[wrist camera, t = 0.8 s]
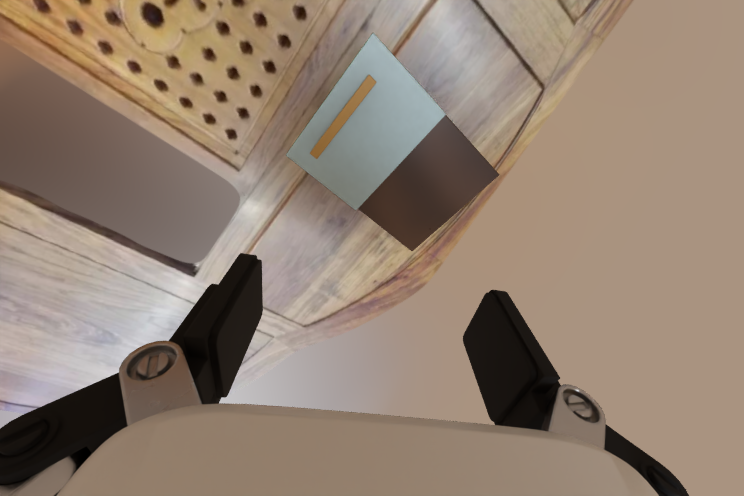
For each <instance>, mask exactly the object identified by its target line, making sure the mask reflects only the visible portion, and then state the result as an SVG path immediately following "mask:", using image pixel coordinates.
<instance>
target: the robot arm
mask: <svg viewBox="0 0 744 496" xmlns="http://www.w3.org/2000/svg"><path fill="white" fill-rule="evenodd" d="M262 311H263V303H262V261H261V260H258V259H257V256H256V255H249V254H243V253H241V254H239V256H238V257H237V259H236V260H235V261H234V263H233V264H232V266H231V267H230V269H229V270H228V272H227V273H226V275H225V276H224V277H223V279H222V280H221V282H220V283H219V285H217V284H211V285H210V286H209V287H208V288H207V289H206V291H205V292H204V293H203V295H202V296H201V297H200V299H199V300H198V302H197V303H196V304H195V306H194V307H193V308H192V310H191V311H190V313H189V314H188V315H187V317H186V318H185V319H184V321H183V322H182V323H181V325H180V326H179V328H178V329H177V330H176V332H175V333H174V334H173V336H172V337H171V339H170V340H169V341H156V342H152V343H149V344H146V345H144V346H142V347H139V348H138V349H136V350H135V351H133V352H132V353H130V354H129V355H128V356H127V357H126V358H125V360H124V361H123V362H122V364H121V366H120V368H119V373H117V374H115V375H112V376H110V377H108V378H105V379H103V380H101V381H99V382H96V383H94V384H92V385H90V386H87V387H85V388H83V389H81V390H78V391H76V392H74V393H71V394H69V395H67V396H65V397H62V398H60V399H58V400H56V401H53V402H51V403H49V404H46V405H44V406H42V407H40V408H37V409H35V410H33V411H31V412H28V413H26V414H24V415H22V416H20V417H18V418H16V419H14V420H12V421H11V422H9V423H8V424H6V425H5V426H4V427H2V428H1V429H0V496H689V495H688V493H687V491H686V489H685V488H684V487H683V485H682V484H681V483H680V481H679V480H678V479H677V478H676V477H675V476H674V475H673V474H672V473H671V472H670V471H669V470H668V469H666V468H665V467H664V466H663V465H661V464H660V463H659V462H658V461H656V460H655V459H653V458H652V457H651V456H649V455H648V454H646V453H645V452H643V451H642V450H641V449H639V448H638V447H636V446H635V445H634V444H632V443H631V442H629V441H628V440H626V439H625V438H624V437H623V436H621V435H620V434H618V433H617V432H616V431H614V430H613V429H611V428H610V427H609V426H607V425H606V420H605V415H604V413H603V411H602V409H601V407H600V406H599V405H598V403H597V402H596V401H595V400H594V399H593V398H592V397H591V396H590V395H589V394H587V393H586V392H585V391H583V390H581V389H579V388H578V387H576V386H572V385H562V386H561V385H560V384H559V382H558V380H559V379H560V377H559V375H558V374H557V372H556V371H555V369H554V367H553V366H552V364H551V362H550V361H549V359H548V358H547V356H546V354H545V353H544V351H543V349H542V348H541V346H540V345H539V343H538V341H537V340H536V339H535V337H534V335H533V333H532V332H531V330H530V329H529V327H528V325H527V324H526V322H525V320H524V319H523V317H522V316H521V314H520V312H519V311H518V309H517V308H516V306H515V304H514V303H513V301H512V300H511V298H510V296H509V295H508V293H507V292H505V291H498V290H491V291H490V292H489V293H486V294H485V295H484V297H483V299H482V301H481V303H480V305H479V307H478V309H477V310H476V313H475V314H474V316H473V318H472V320H471V322H470V324H469V326H468V327H467V329H466V331H465V333H464V336H463V342H464V346H465V348H466V351H467V354H468V357H469V360H470V363H471V366H472V369H473V371H474V374H475V377H476V380H477V383H478V386H479V389H480V392H481V394H482V397H483V400H484V403H485V406H486V409H487V412H488V415H489V417H490V419H491V420H492V421H493V422H494V423H495V425H488V424H477V423H466V422H457V421H446V420H435V419H424V418H413V417H401V416H391V415H379V414H367V413H356V412H344V411H332V410H320V409H308V408H295V407H282V406H267V405H252V404H219V401H220V399H221V397H227V395H228V393H229V391H230V389H231V386H232V384H233V382H234V379H235V377H236V375H237V372H238V370H239V368H240V365H241V363H242V361H243V358H244V356H245V354H246V351H247V349H248V347H249V344H250V342H251V340H252V337H253V335H254V333H255V330H256V328H257V326H258V323H259V321H260V319H261V316H262Z"/></svg>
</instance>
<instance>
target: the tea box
mask: <svg viewBox="0 0 744 496" xmlns="http://www.w3.org/2000/svg"><path fill="white" fill-rule="evenodd" d="M498 176H499V174H498V173H497V171H496V170H495V169H494V168H493V167H492V166H491V165H490V164H489V162H488V161H487V160H486V159H485V158H484V157H483V156H482V155H481V154H480V152H479V151H478V150H477V149H476V148H475V147H474V146H473V145H472V144H471V142H470V141H469V140H468V139H467V138H466V137H465V136H464V135H463V134H462V132H461V131H460V130H459V129H458V128H457V127H456V126H455V125H454V123H453V122H452V121H451V120H450V119H449V118H448V117H447V116H446V115H445V116H444V117H443V118H442V119H441V120H440V121H439V122H438V123H437V124H436V126H435V127H434V128H433V129H432V130H431V131H430V132H429V133H428V134H427V135H426V136H425V137H424V138H423V139H422V141H421V142H420V143H419V144H418V145H417V146H416V147H415V148H414V149H413V150H412V151H411V152H410V153H409V154H408V156H407V157H406V158H405V159H404V160H403V161H402V162H401V163H400V164H399V165H398V166H397V167H396V168H395V169H394V171H393V172H392V173H391V174H390V175H389V176H388V177H387V178H386V179H385V180H384V181H383V182H382V183H381V184H380V186H379V187H378V188H377V189H376V190H375V191H374V192H373V193H372V194H371V195H370V196H369V197H368V198H367V199H366V200H365V202H364V203H363V204H362V205H361V206H360V207H359V208H358V209H359V210H360V211H362V212H363V213H364V214H365V215H367V216H368V217H369V218H371V219H372V220H373V221H374V222H376V223H377V224H378V225H379V226H381V227H382V228H383V229H384V230H386V231H387V232H388V233H389V234H391V235H392V236H393V237H394V238H396V239H397V240H398V241H399V242H401V243H402V244H403V245H405V246H406V247H407V248H408V249H410V250H411V251H413V250H414V249H415V248H417V247H418V246H419V245H420V244H421V243H422V242H423V241H425V240H426V239H427V238H428V237H429V236H430V235H431V234H433V233H434V232H435V231H436V230H437V229H438V228H439V227H441V226H442V225H443V224H444V223H445V222H446V221H447V220H449V219H450V218H451V217H452V216H453V215H454V214H455V213H457V212H458V211H459V210H460V209H461V208H462V207H463V206H465V205H466V204H467V203H468V202H469V201H470V200H471V199H473V198H474V197H475V196H476V195H477V194H478V193H479V192H480V191H482V190H483V189H484V188H485V187H486V186H487V185H488V184H490V183H491V182H492V181H493V180H494V179H495V178H496V177H498Z"/></svg>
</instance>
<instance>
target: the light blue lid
mask: <svg viewBox="0 0 744 496" xmlns="http://www.w3.org/2000/svg"><path fill="white" fill-rule="evenodd" d="M445 115H446V113H445V112H444V111H443V110H442V109H441V108H440V107H439V105H438V104H437V103H436V102H435V101H434V100H433V99H432V98H431V97H430V95H429V94H428V93H427V92H426V91H425V90H424V89H423V88H422V87H421V85H420V84H419V83H418V82H417V81H416V80H415V79H414V78H413V76H412V75H411V74H410V73H409V72H408V71H407V70H406V69H405V68H404V66H403V65H402V64H401V63H400V62H399V61H398V60H397V59H396V57H395V56H394V55H393V54H392V53H391V52H390V51H389V50H388V49H387V47H386V46H385V45H384V44H383V43H382V42H381V41H380V40H379V38H378V37H377V36H376V35H375V34H374V33H372V35H371V36H370V37H369V39H368V40H367V42H366V43H365V44H364V46H363V47H362V49H361V50H360V51H359V53H358V54H357V56H356V57H355V58H354V60H353V61H352V63H351V64H350V65H349V67H348V68H347V70H346V71H345V72H344V74H343V75H342V77H341V78H340V79H339V81H338V82H337V84H336V85H335V86H334V88H333V89H332V91H331V92H330V93H329V95H328V96H327V98H326V99H325V100H324V102H323V103H322V105H321V106H320V107H319V109H318V110H317V112H316V113H315V114H314V116H313V117H312V119H311V120H310V122H309V123H308V124H307V126H306V127H305V129H304V130H303V131H302V133H301V134H300V136H299V137H298V138H297V140H296V141H295V143H294V144H293V145H292V147H291V148H290V150H289V151H288V152H287V154H286V156H287V157H288V158H290V159H291V160H292V161H294V162H295V163H296V164H297V165H299V166H300V167H301V168H302V169H304V170H305V171H306V172H307V173H309V174H310V175H311V176H313V177H314V178H315V179H316V180H318V181H319V182H320V183H321V184H323V185H324V186H325V187H327V188H328V189H329V190H330V191H332V192H333V193H334V194H335V195H337V196H338V197H339V198H340V199H342V200H343V201H344V202H346V203H347V204H348V205H349V206H351V207H352V208H353V209H354V210H357V209H358V208H359V207H360V206H361V205H362V204H363V203H364V202H365V200H366V199H367V198H368V197H369V196H370V195H371V194H372V193H373V192H374V191H375V190H376V189H377V188H378V187H379V186H380V184H381V183H382V182H383V181H384V180H385V179H386V178H387V177H388V176H389V175H390V174H391V173H392V172H393V171H394V169H395V168H396V167H397V166H398V165H399V164H400V163H401V162H402V161H403V160H404V159H405V158H406V157H407V156H408V154H409V153H410V152H411V151H412V150H413V149H414V148H415V147H416V146H417V145H418V144H419V143H420V142H421V141H422V139H423V138H424V137H425V136H426V135H427V134H428V133H429V132H430V131H431V130H432V129H433V128H434V127H435V126H436V124H437V123H438V122H439V121H440V120H441V119H442V118H443V117H444V116H445Z"/></svg>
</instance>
